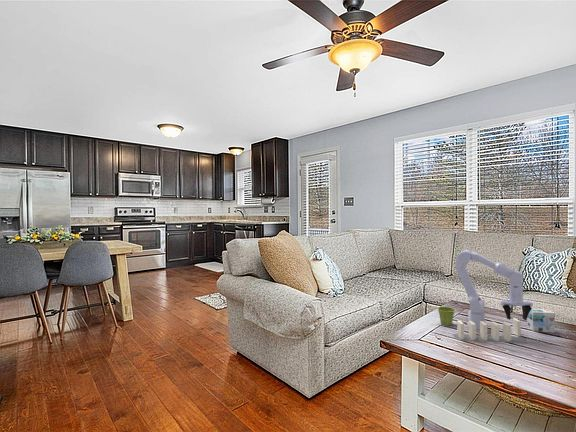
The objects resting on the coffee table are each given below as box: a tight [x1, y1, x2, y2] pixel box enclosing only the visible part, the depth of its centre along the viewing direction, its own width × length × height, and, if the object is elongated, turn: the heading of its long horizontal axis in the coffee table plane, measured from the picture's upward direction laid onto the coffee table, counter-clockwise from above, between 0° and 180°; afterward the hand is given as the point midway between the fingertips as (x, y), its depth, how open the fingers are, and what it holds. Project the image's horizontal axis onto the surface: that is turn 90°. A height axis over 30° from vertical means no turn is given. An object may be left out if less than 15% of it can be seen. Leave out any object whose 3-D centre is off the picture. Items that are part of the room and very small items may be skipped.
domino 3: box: [479, 321, 488, 340], centre depth 165 cm, size 2×5×8 cm, turn 170°
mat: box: [451, 333, 531, 344], centre depth 165 cm, size 8×34×1 cm, turn 80°
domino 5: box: [502, 321, 512, 341], centre depth 163 cm, size 2×5×8 cm, turn 170°
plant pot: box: [436, 306, 456, 326], centre depth 188 cm, size 9×9×9 cm
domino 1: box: [456, 320, 465, 339], centre depth 167 cm, size 2×5×8 cm, turn 170°
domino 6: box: [511, 317, 522, 337], centre depth 169 cm, size 2×5×8 cm, turn 170°
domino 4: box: [490, 321, 500, 341], centre depth 164 cm, size 2×5×8 cm, turn 170°
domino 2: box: [467, 320, 477, 340], centre depth 166 cm, size 2×5×8 cm, turn 170°
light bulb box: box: [526, 308, 556, 333], centre depth 175 cm, size 11×7×11 cm, turn 76°
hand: (516, 319), depth 169 cm, fingers open, 7 cm apart
